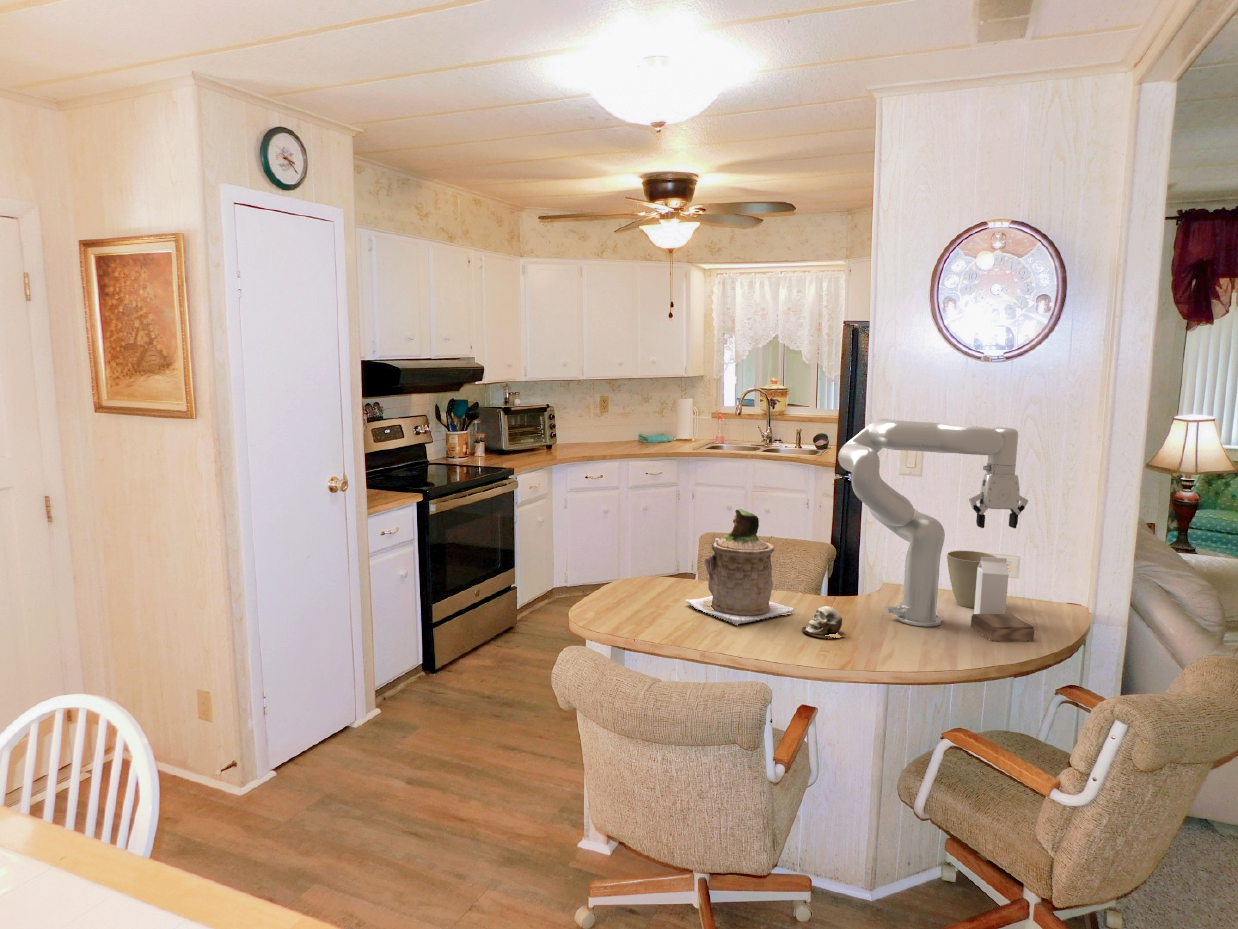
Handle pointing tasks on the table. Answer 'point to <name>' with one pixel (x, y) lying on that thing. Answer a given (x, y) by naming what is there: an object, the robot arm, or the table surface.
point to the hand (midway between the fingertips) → (996, 527)
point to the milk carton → (991, 586)
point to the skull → (824, 623)
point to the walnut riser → (1002, 627)
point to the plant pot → (964, 575)
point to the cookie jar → (740, 575)
